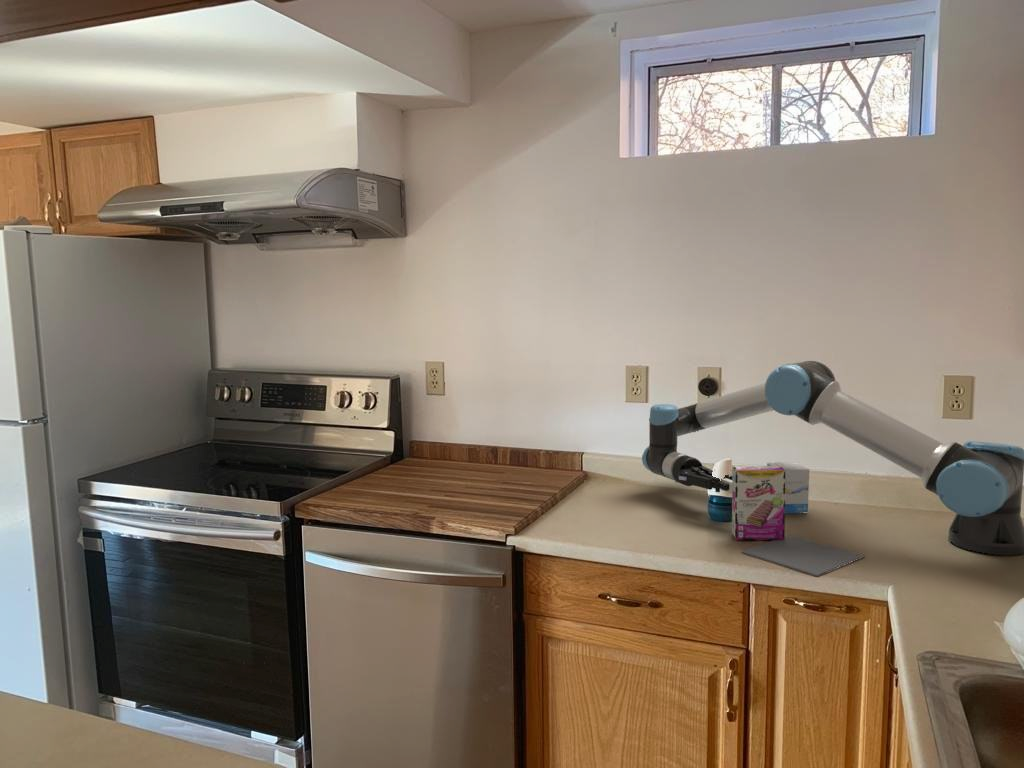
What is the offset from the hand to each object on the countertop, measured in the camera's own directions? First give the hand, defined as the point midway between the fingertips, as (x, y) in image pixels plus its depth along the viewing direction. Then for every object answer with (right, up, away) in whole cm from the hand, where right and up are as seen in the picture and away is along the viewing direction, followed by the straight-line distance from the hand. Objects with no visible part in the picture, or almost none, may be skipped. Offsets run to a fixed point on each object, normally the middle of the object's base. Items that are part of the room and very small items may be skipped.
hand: (740, 490), depth 182 cm
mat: (+9, -12, -16) cm, 21 cm away
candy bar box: (+3, -10, -5) cm, 12 cm away
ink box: (+17, -8, +19) cm, 27 cm away
